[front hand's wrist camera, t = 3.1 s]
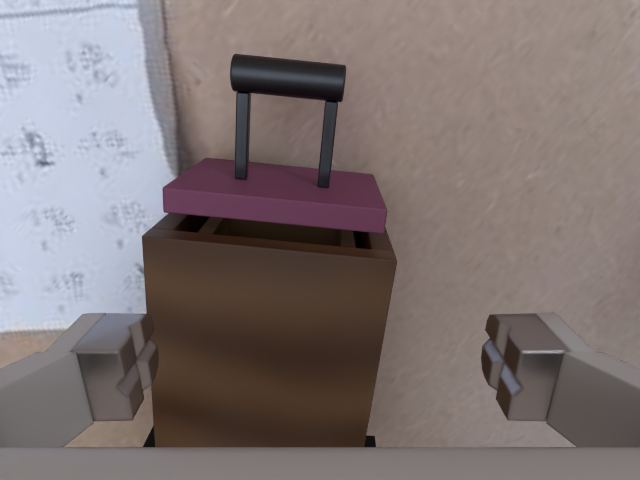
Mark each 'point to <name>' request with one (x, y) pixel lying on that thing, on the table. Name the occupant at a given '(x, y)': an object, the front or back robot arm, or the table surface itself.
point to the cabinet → (264, 336)
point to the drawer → (280, 170)
